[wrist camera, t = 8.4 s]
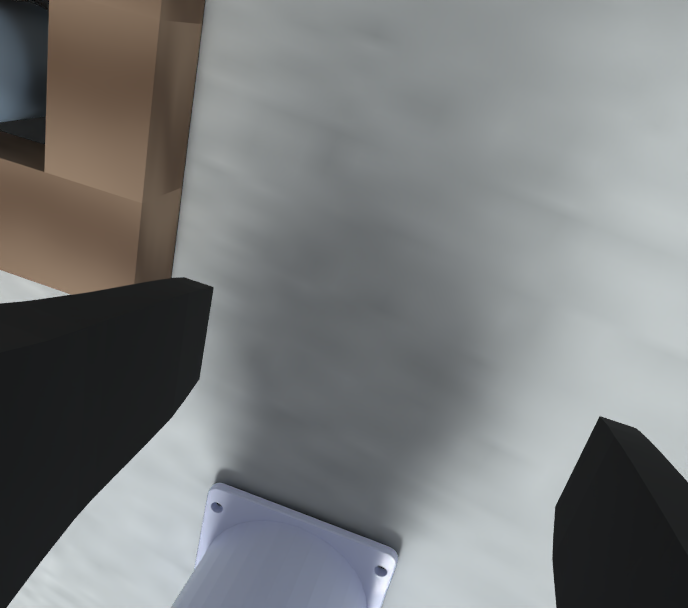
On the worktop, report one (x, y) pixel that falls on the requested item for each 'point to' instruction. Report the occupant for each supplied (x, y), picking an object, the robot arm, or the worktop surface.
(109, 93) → the socket block
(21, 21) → the peg
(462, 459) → the worktop surface
